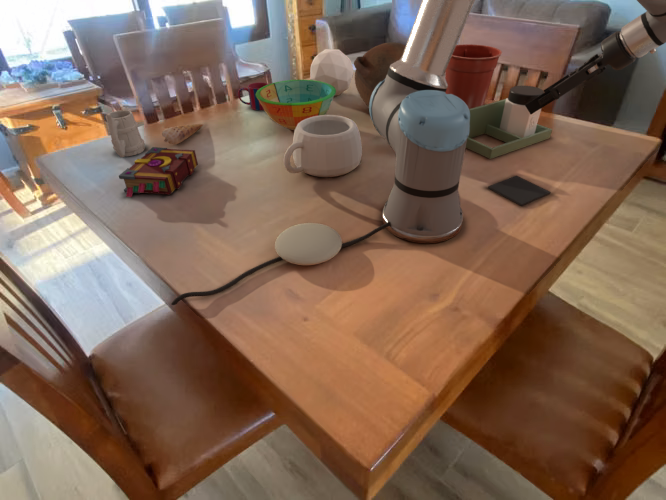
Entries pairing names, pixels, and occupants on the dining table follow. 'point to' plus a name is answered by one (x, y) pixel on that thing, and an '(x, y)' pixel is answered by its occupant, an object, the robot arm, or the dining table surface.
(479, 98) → the flower pot
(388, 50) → the jug
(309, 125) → the mug
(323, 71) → the geometric sphere
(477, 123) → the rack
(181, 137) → the seashell
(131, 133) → the mug
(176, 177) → the decorative book
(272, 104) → the bowl
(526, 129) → the jar
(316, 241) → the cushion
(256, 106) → the cup
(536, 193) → the mat
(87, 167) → the dining table surface
